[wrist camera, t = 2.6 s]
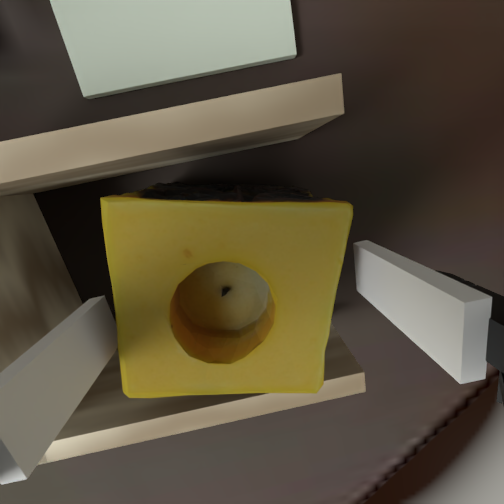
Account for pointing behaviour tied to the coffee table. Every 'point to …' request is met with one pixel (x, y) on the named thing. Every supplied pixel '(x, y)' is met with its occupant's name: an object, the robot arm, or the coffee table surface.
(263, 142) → the wooden u-shaped frame
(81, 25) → the felt mat
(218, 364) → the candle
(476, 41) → the coffee table surface
